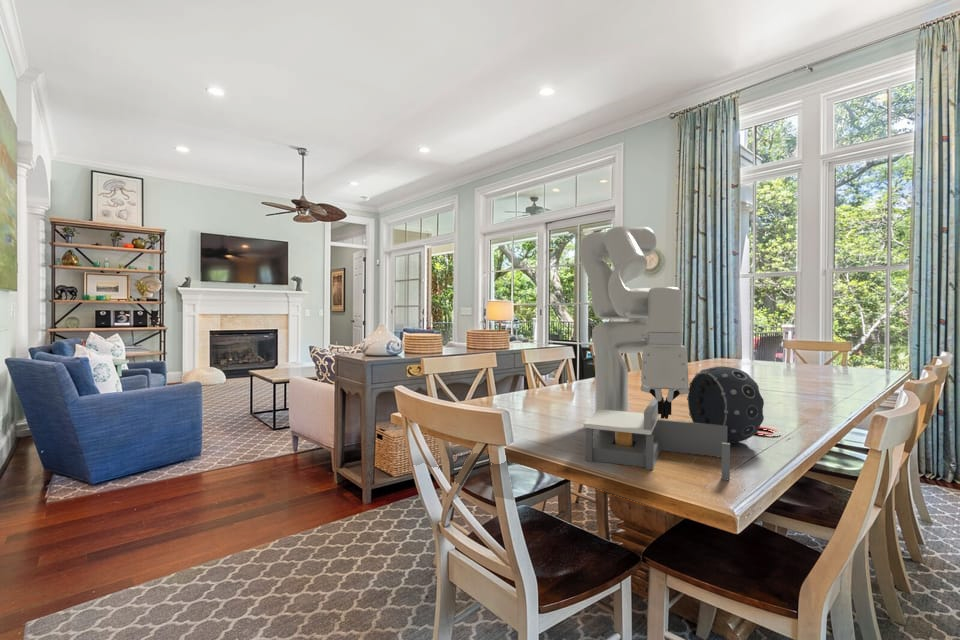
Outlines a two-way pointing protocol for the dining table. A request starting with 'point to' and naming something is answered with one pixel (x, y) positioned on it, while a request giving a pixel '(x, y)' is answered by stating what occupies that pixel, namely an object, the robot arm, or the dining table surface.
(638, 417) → the lid
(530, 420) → the dining table surface
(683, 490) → the dining table surface
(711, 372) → the studded black wheel
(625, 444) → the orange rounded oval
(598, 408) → the robot arm
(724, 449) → the housing
